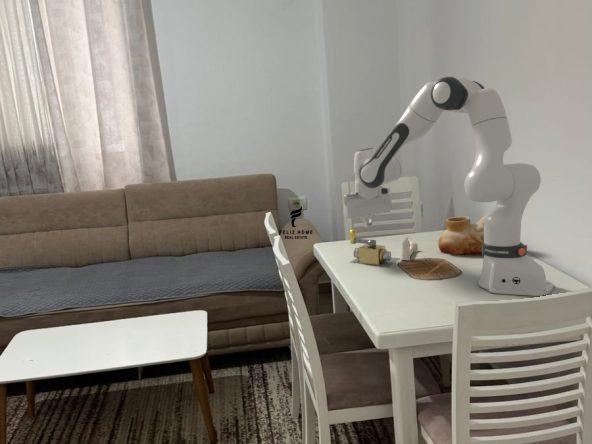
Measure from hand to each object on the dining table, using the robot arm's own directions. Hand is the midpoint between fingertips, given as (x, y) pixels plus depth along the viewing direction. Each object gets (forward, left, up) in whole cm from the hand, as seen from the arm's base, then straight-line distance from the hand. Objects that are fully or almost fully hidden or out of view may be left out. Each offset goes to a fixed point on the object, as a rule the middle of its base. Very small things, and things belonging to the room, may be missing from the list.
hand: (368, 226), depth 237 cm
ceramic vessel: (-33, -24, -13) cm, 43 cm away
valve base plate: (-4, +3, -13) cm, 14 cm away
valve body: (-4, +5, -12) cm, 14 cm away
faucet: (-13, -9, -13) cm, 20 cm away
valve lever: (0, +5, -6) cm, 8 cm away
